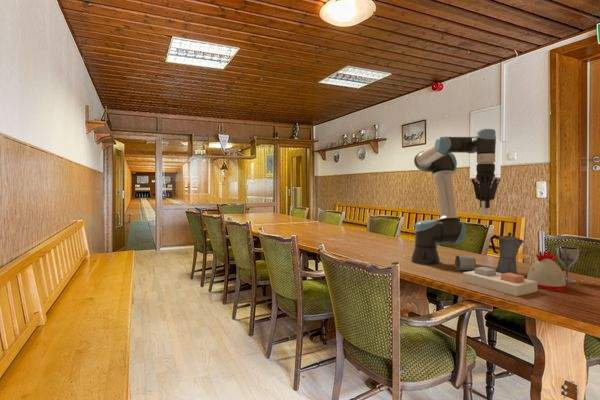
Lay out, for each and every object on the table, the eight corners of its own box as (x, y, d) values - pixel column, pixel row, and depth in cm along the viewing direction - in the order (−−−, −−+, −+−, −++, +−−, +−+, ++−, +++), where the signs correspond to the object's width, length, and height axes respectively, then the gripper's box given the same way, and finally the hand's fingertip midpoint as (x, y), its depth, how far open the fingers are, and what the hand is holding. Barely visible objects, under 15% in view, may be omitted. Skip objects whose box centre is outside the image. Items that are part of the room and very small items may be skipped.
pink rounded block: (500, 282, 147) (500, 274, 147) (509, 280, 150) (509, 272, 150) (515, 286, 142) (515, 277, 142) (523, 284, 145) (524, 275, 144)
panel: (462, 281, 159) (462, 272, 158) (482, 277, 165) (482, 269, 165) (516, 296, 137) (516, 286, 137) (537, 291, 144) (537, 281, 144)
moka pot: (519, 277, 166) (520, 234, 165) (485, 271, 177) (486, 231, 177) (526, 273, 172) (527, 233, 171) (492, 268, 184) (493, 230, 183)
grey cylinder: (476, 272, 176) (477, 256, 176) (459, 271, 176) (460, 256, 176) (467, 267, 186) (468, 253, 186) (452, 267, 187) (452, 252, 187)
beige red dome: (519, 281, 159) (520, 248, 159) (551, 281, 159) (552, 248, 158) (539, 290, 145) (540, 254, 145) (574, 290, 145) (575, 254, 144)
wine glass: (557, 277, 166) (558, 245, 165) (579, 280, 160) (580, 247, 159) (554, 280, 160) (555, 247, 159) (576, 284, 154) (577, 249, 154)
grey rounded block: (474, 275, 158) (474, 268, 158) (483, 274, 160) (483, 266, 160) (487, 279, 152) (487, 271, 152) (495, 277, 155) (496, 269, 155)
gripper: (467, 164, 166) (466, 214, 167) (494, 162, 154) (492, 216, 155) (478, 164, 169) (477, 213, 170) (504, 163, 158) (503, 215, 159)
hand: (484, 215), depth 163 cm, fingers closed
